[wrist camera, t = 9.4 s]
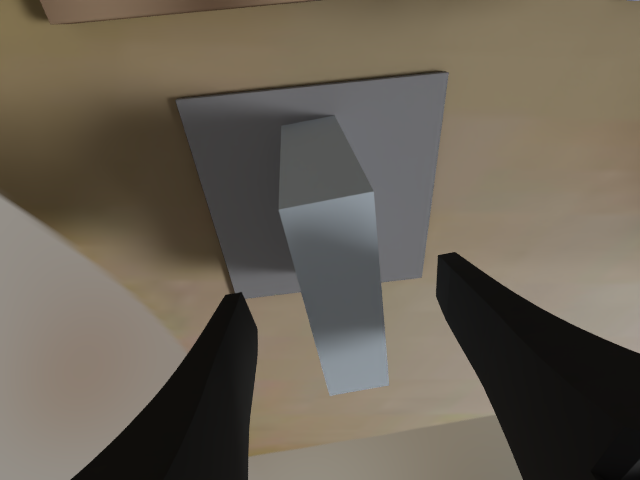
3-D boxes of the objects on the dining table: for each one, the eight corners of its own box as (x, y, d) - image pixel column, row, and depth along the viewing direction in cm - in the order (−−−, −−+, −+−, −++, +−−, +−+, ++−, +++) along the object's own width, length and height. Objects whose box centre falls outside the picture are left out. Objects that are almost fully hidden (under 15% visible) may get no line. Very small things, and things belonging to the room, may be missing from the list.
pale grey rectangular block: (334, 115, 15) (374, 191, 8) (354, 264, 20) (389, 385, 13) (281, 125, 15) (278, 209, 8) (314, 272, 20) (329, 395, 14)
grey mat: (444, 71, 15) (448, 72, 14) (419, 273, 21) (421, 277, 21) (177, 98, 14) (175, 100, 14) (237, 295, 21) (237, 299, 21)
